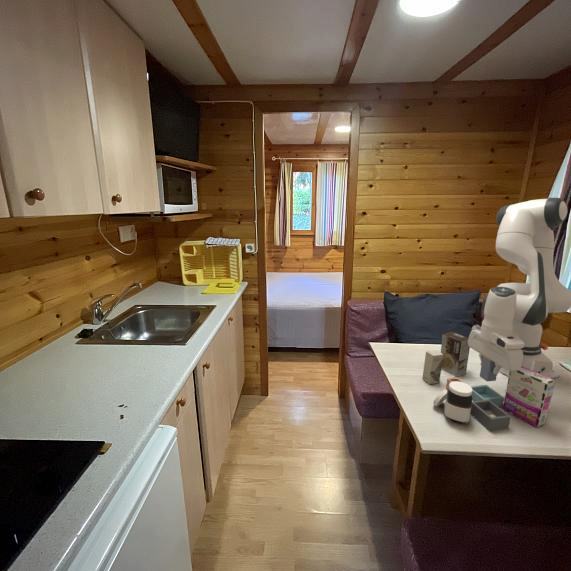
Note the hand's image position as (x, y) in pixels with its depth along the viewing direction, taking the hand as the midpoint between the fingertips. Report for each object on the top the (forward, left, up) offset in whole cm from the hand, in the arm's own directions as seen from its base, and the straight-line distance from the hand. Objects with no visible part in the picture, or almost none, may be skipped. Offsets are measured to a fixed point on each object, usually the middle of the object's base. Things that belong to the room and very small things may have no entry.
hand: (489, 369), depth 111 cm
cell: (0, 0, -4) cm, 4 cm away
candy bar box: (-7, +10, -13) cm, 18 cm away
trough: (0, 0, -13) cm, 13 cm away
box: (+11, -15, -13) cm, 23 cm away
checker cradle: (+7, +10, -13) cm, 17 cm away
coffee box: (-3, -21, -13) cm, 25 cm away
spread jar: (+17, +4, -13) cm, 22 cm away
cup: (+7, -6, -13) cm, 16 cm away
